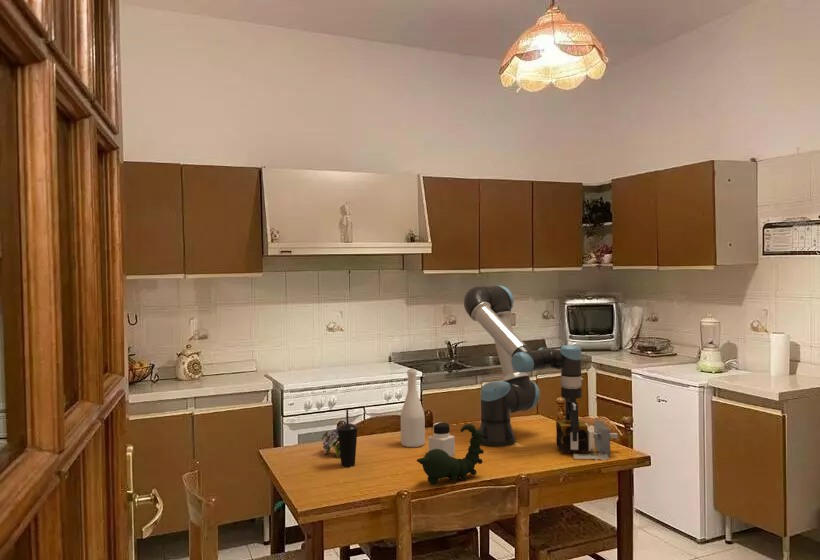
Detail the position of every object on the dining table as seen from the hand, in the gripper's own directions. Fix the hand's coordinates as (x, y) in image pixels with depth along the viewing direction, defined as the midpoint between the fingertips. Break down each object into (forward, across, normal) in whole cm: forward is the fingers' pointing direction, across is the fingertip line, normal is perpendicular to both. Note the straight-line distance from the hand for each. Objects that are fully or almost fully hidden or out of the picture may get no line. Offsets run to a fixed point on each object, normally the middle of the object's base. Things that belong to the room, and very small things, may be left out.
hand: (572, 445), depth 239 cm
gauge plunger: (0, -2, -11) cm, 11 cm away
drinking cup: (+3, -20, +82) cm, 84 cm away
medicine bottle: (+3, -7, +49) cm, 49 cm away
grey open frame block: (+2, -2, -6) cm, 6 cm away
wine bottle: (+3, +7, +61) cm, 61 cm away
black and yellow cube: (+2, 0, 0) cm, 2 cm away
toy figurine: (+2, -35, +45) cm, 57 cm away
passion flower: (+3, -6, +89) cm, 89 cm away
